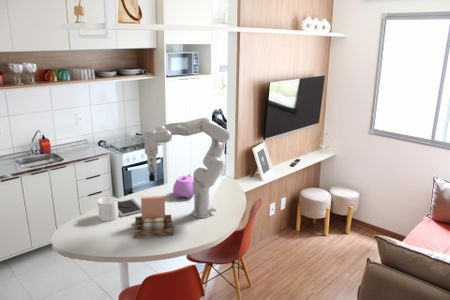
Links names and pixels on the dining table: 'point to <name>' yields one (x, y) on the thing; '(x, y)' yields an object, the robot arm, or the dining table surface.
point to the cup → (108, 208)
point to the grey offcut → (153, 226)
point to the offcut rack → (153, 232)
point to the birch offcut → (153, 220)
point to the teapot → (184, 187)
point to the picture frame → (128, 208)
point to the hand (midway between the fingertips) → (152, 178)
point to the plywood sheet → (153, 207)
